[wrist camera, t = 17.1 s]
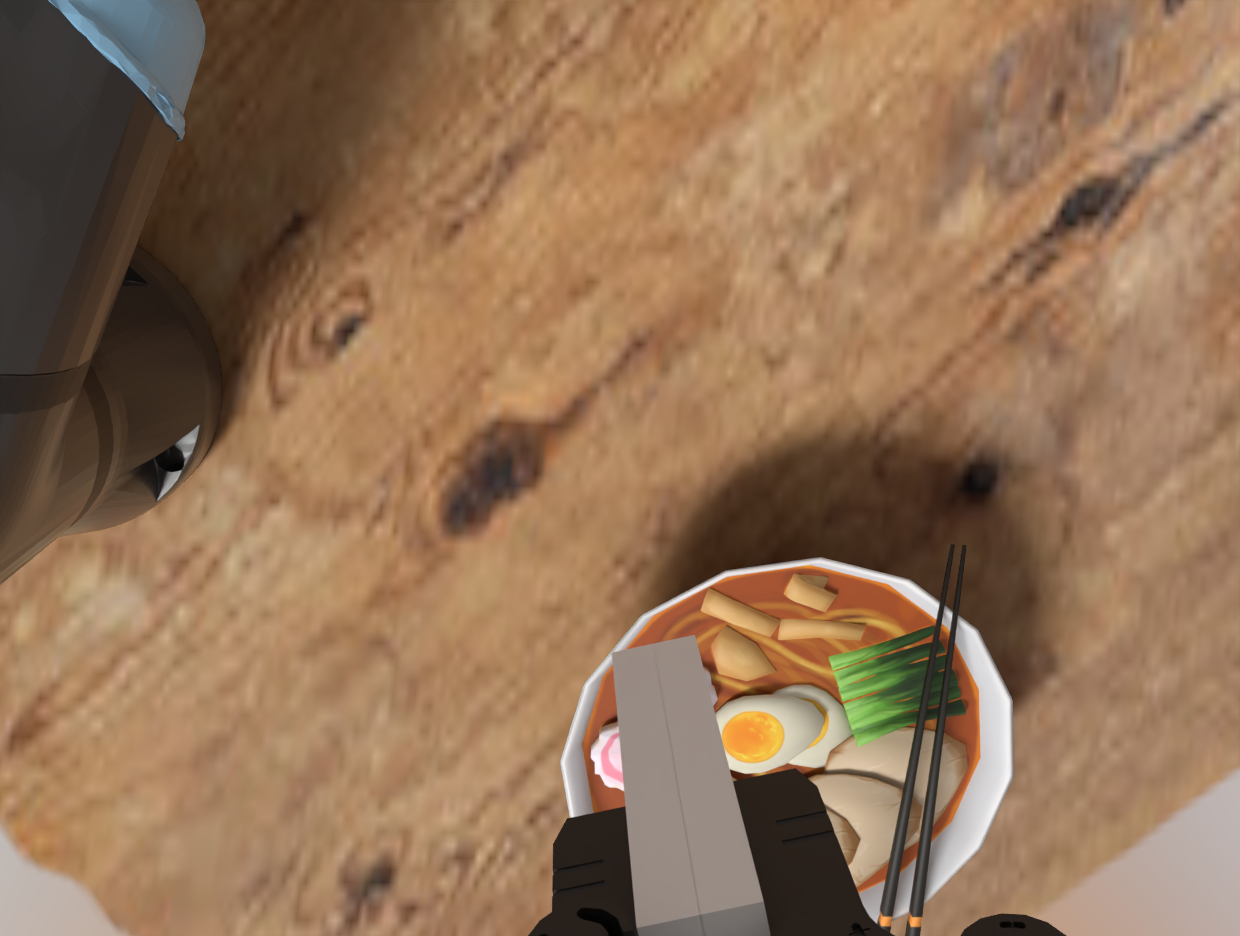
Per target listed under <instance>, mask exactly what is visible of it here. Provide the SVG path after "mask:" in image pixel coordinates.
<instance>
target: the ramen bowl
mask: <svg viewBox="0 0 1240 936" xmlns="http://www.w3.org/2000/svg"><path fill="white" fill-rule="evenodd" d="M954 547H955V545H954V544H951V547H950V553H949V558H948V563H947V568H946V573H945V578H944V583H943V588H942V593H941V599H940V601H939V600H937V599H936V598H935V597H933V596H932V595H931V594H929V593H928V592H927V591H925V590H924V589H922V588H921V587H920V586H918V585H917V584H916V583H914V582H913V581H912V580H910V579H907V578H903V577H899V576H895V575H891V574H887V573H883V572H879V571H874V570H870V569H866V568H862V567H858V566H854V565H850V564H846V563H842V562H838V561H834V560H830V559H826V558H822V557H819V558H809V559H802V560H795V561H788V562H781V563H774V564H767V565H761V566H754V567H747V568H740V569H733V570H726V571H723V572H721V573H720V574H718V575H716V576H714V577H712V578H710V579H708V580H706V581H704V582H702V583H701V584H699V585H697V586H695V587H693V588H691V589H689V590H687V591H685V592H684V593H682V594H680V595H678V596H676V597H674V598H672V599H670V600H668V601H666V602H665V603H663V604H661V605H659V606H657V607H655V608H653V609H651V610H649V611H648V612H646V613H644V614H643V615H641V616H640V618H639V619H638V620H637V621H636V622H635V624H634V625H633V626H632V627H631V628H630V630H629V631H628V632H627V633H626V634H625V636H624V637H623V638H622V639H621V640H620V642H619V643H618V644H617V645H616V646H615V648H614V649H613V650H612V651H611V652H610V654H609V655H608V656H607V657H606V658H605V660H604V661H603V662H602V663H601V664H600V666H599V667H598V668H597V669H596V670H595V672H594V673H593V674H592V675H591V676H590V678H589V679H588V680H587V681H586V682H585V684H584V686H583V689H582V693H581V696H580V699H579V703H578V706H577V709H576V712H575V716H574V719H573V722H572V725H571V729H570V732H569V735H568V738H567V742H566V745H565V748H564V752H563V755H562V758H561V761H560V763H561V769H562V775H563V780H564V786H565V792H566V797H567V803H568V809H569V814H570V818H572V817H577V816H581V815H586V814H591V813H596V812H601V811H605V810H610V809H615V808H620V807H624V806H625V795H624V784H623V772H622V761H621V750H620V739H619V728H618V717H617V706H616V695H615V683H614V672H613V661H612V652H617V651H621V650H626V649H631V648H635V647H640V646H645V645H649V644H654V643H659V642H663V641H668V640H673V639H678V638H682V637H687V636H692V635H695V637H696V641H697V645H698V649H699V653H700V657H701V660H702V664H703V668H704V672H705V676H706V680H707V684H708V688H709V691H710V695H711V699H712V703H713V707H714V711H715V715H716V719H717V722H718V726H719V730H720V734H721V738H722V742H723V746H724V750H725V753H726V757H727V761H728V765H729V769H730V773H731V777H732V781H737V780H741V779H746V778H751V777H756V776H760V775H765V774H770V773H775V772H779V771H784V770H789V769H794V768H796V769H797V770H799V771H800V772H801V773H802V774H803V775H804V776H806V777H807V778H808V779H809V780H810V781H812V782H813V783H814V784H815V785H816V786H817V787H818V789H819V792H820V795H821V797H822V800H823V802H824V805H825V808H826V810H827V814H828V815H829V818H830V820H831V823H832V826H833V828H834V832H835V835H836V836H837V839H838V841H839V844H840V846H841V849H842V852H843V854H844V857H845V859H846V862H847V865H848V867H849V870H850V872H851V875H852V878H853V880H854V883H855V885H856V888H857V891H858V893H859V896H860V898H861V901H862V904H863V906H864V908H865V909H866V911H867V913H868V915H869V916H870V917H871V918H872V919H873V920H874V921H875V922H876V923H877V924H878V925H879V926H880V927H881V928H883V929H884V930H886V931H888V932H889V933H890V929H891V921H892V920H894V919H896V918H899V917H901V916H903V915H905V914H907V913H909V917H908V920H907V927H906V933H905V936H920V931H921V922H920V921H921V919H922V914H923V906H924V904H925V903H926V902H927V901H928V900H929V899H930V898H931V897H932V896H933V895H934V894H935V893H936V892H937V891H938V890H939V889H940V888H941V887H942V886H943V885H944V884H945V883H946V882H947V881H948V880H949V879H950V878H951V877H952V876H953V875H954V874H955V873H956V872H957V871H958V870H959V869H960V868H961V867H962V866H963V865H964V864H965V863H966V862H967V861H968V860H969V859H970V858H971V857H972V856H973V855H974V854H975V853H976V852H977V851H978V850H979V849H980V848H981V846H982V844H983V842H984V840H985V838H986V836H987V833H988V831H989V829H990V827H991V825H992V823H993V820H994V818H995V816H996V814H997V812H998V810H999V807H1000V805H1001V803H1002V801H1003V799H1004V797H1005V794H1006V792H1007V790H1008V788H1009V786H1010V784H1011V781H1012V779H1013V777H1014V760H1013V699H1012V697H1011V695H1010V693H1009V691H1008V689H1007V687H1006V685H1005V683H1004V681H1003V679H1002V677H1001V675H1000V673H999V671H998V669H997V667H996V665H995V663H994V661H993V659H992V657H991V655H990V653H989V651H988V649H987V647H986V645H985V643H984V641H983V639H982V637H981V635H980V633H979V631H978V629H976V628H975V627H974V626H972V625H971V624H970V623H968V622H967V621H966V620H964V619H963V618H962V617H960V616H959V615H958V612H959V603H960V595H961V586H962V578H963V570H964V561H965V553H966V545H963V546H962V553H961V560H960V566H959V573H958V580H957V587H956V594H955V600H954V607H953V611H952V610H951V609H949V608H948V607H947V606H945V601H946V595H947V589H948V583H949V577H950V571H951V565H952V559H953V553H954Z"/></svg>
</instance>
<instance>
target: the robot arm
mask: <svg viewBox="0 0 1240 936" xmlns="http://www.w3.org/2000/svg"><path fill="white" fill-rule="evenodd" d="M205 34H206V33H205V25H204V22H203V18H202V15H201V12H200V9H199V6H198V3H197V2H196V0H0V584H2V583H3V582H4V581H5V580H7V579H8V578H9V577H10V576H11V575H13V574H14V573H15V572H16V571H18V570H19V569H20V568H21V567H22V566H24V565H25V564H26V563H27V562H28V561H30V560H31V559H32V558H33V557H35V556H36V555H37V554H38V553H39V552H41V551H42V550H43V549H44V548H45V547H47V546H48V545H49V544H50V543H52V542H53V541H54V540H55V539H56V538H58V537H60V536H67V535H73V534H80V533H87V532H93V531H98V530H103V529H107V528H110V527H114V526H117V525H120V524H122V523H125V522H127V521H129V520H132V519H134V518H136V517H138V516H140V515H142V514H144V513H146V512H147V511H149V510H150V509H152V508H154V507H155V506H156V505H158V504H159V503H160V502H162V501H163V500H164V499H165V498H167V497H168V496H169V495H170V494H171V493H172V492H173V491H174V490H176V489H177V488H178V487H179V486H180V485H181V484H182V483H183V482H184V481H185V480H186V479H187V478H188V477H189V476H190V475H191V474H192V473H193V471H194V470H195V469H196V468H197V467H198V465H199V464H200V462H201V461H202V459H203V458H204V456H205V454H206V452H207V451H208V449H209V447H210V445H211V442H212V440H213V438H214V435H215V432H216V429H217V425H218V421H219V417H220V411H221V404H222V376H221V369H220V362H219V358H218V353H217V350H216V347H215V343H214V340H213V338H212V335H211V332H210V330H209V328H208V326H207V323H206V321H205V319H204V317H203V316H202V314H201V312H200V310H199V308H198V307H197V305H196V304H195V302H194V301H193V299H192V298H191V296H190V295H189V294H188V292H187V291H186V290H185V288H184V287H183V286H182V285H181V284H180V282H179V281H178V280H177V279H176V278H175V277H174V276H173V275H172V274H171V273H170V272H169V271H168V270H167V269H166V268H165V267H164V266H163V265H162V264H161V263H160V262H159V261H157V260H156V259H155V258H154V257H152V256H151V255H150V254H149V253H147V252H146V251H144V250H143V249H141V248H140V247H138V246H137V242H138V240H139V237H140V234H141V232H142V229H143V226H144V224H145V221H146V218H147V216H148V213H149V211H150V208H151V205H152V203H153V200H154V197H155V195H156V192H157V189H158V187H159V184H160V181H161V179H162V176H163V173H164V171H165V168H166V165H167V163H168V160H169V158H170V155H171V152H172V150H173V147H174V144H175V142H178V141H180V140H182V139H183V136H184V134H185V129H184V128H185V119H184V117H183V114H184V111H185V108H186V105H187V101H188V98H189V95H190V92H191V89H192V86H193V82H194V79H195V76H196V73H197V70H198V67H199V63H200V60H201V57H202V54H203V51H204V47H205ZM612 661H613V672H614V683H615V695H616V706H617V717H618V728H619V739H620V750H621V761H622V772H623V784H624V795H625V806H624V807H620V808H615V809H610V810H605V811H601V812H596V813H591V814H586V815H581V816H577V817H572V818H567V820H566V821H565V823H564V825H563V827H562V829H561V831H560V833H559V834H558V836H557V838H556V840H555V842H554V844H553V873H554V875H553V896H552V913H550V914H549V915H547V916H546V917H544V918H543V919H542V920H540V921H539V923H538V924H537V925H536V926H535V928H534V929H533V930H532V932H531V933H530V934H529V935H528V936H894V935H892V934H891V933H889V932H888V931H886V930H884V929H883V928H881V927H880V926H879V925H878V924H877V923H876V922H875V921H874V920H873V919H872V918H871V917H870V916H869V915H868V913H867V911H866V909H865V908H864V906H863V904H862V901H861V898H860V896H859V893H858V891H857V888H856V885H855V883H854V880H853V878H852V875H851V872H850V870H849V867H848V865H847V862H846V859H845V857H844V854H843V852H842V849H841V846H840V844H839V841H838V839H837V836H836V835H835V832H834V828H833V826H832V823H831V820H830V818H829V815H828V814H827V810H826V808H825V805H824V802H823V800H822V797H821V795H820V792H819V789H818V787H817V786H816V785H815V784H814V783H813V782H812V781H810V780H809V779H808V778H807V777H806V776H804V775H803V774H802V773H801V772H800V771H799V770H797V769H796V768H794V769H789V770H784V771H779V772H775V773H770V774H765V775H760V776H756V777H751V778H746V779H741V780H737V781H732V777H731V773H730V769H729V765H728V761H727V757H726V753H725V750H724V746H723V742H722V738H721V734H720V730H719V726H718V722H717V719H716V715H715V711H714V707H713V703H712V699H711V695H710V691H709V688H708V684H707V680H706V676H705V672H704V668H703V664H702V660H701V657H700V653H699V649H698V645H697V641H696V637H695V635H692V636H687V637H682V638H678V639H673V640H668V641H663V642H659V643H654V644H649V645H645V646H640V647H635V648H631V649H626V650H621V651H617V652H612ZM961 936H1066V935H1064V934H1063V933H1062V932H1060V931H1059V930H1057V929H1056V928H1055V927H1053V926H1052V925H1050V924H1049V923H1047V922H1045V921H1042V920H1039V919H1036V918H1033V917H1030V916H1027V915H1018V914H998V915H993V916H989V917H985V918H981V919H979V920H978V921H976V922H975V923H973V924H972V925H970V926H969V927H967V928H966V929H964V931H963V933H962V934H961Z"/></svg>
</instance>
